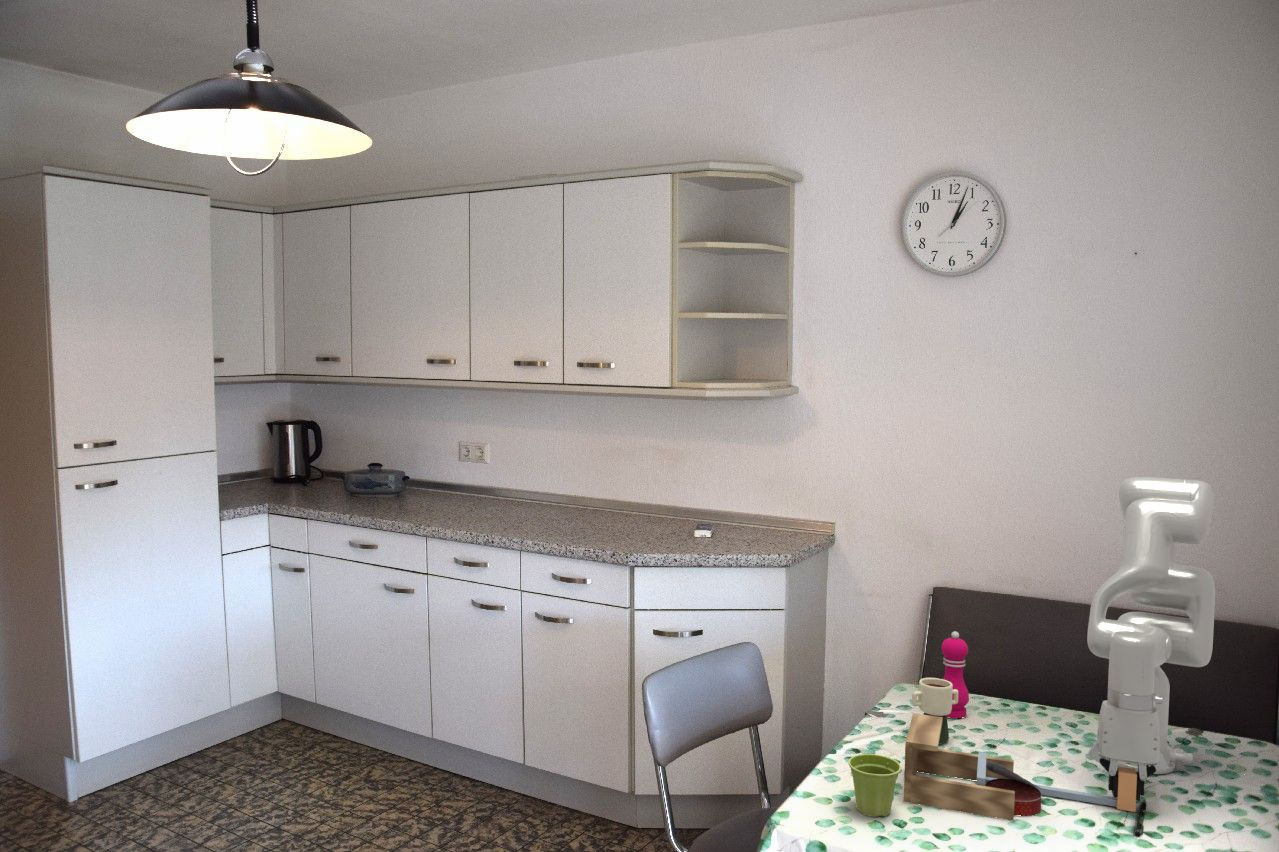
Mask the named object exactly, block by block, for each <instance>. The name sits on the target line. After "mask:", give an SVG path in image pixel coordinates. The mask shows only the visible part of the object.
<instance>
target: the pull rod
mask: <svg viewBox="0 0 1279 852" xmlns="http://www.w3.org/2000/svg"><path fill="white" fill-rule="evenodd" d="M987 754H988V753H987V752H982V751H978V753H977V755H978V767H977V782H976V785H981V786H985V785H986V783H987V782H988V781H990V780H993V779H998V778H992V777H986V756H988V755H987ZM1117 774H1118V778H1119V780H1118V797H1117V798H1115V797H1113V796H1111V795H1103V794H1098V793H1092V792H1091V793H1090V792H1084V791H1079V790H1072V789H1066V788H1059V787H1053V786H1047V785H1041V784H1034V783H1033V784H1034V785H1036V786H1038V787H1040V788H1038V789H1039V790H1040V791H1041V793H1042V796H1048V797H1055V798H1060V799H1061V798H1062V799H1068V800H1074V801H1080V802H1085V803H1092V804H1099V805H1103V806H1104V805H1105V806H1111V807H1116V809H1117V810H1121V811H1128V812H1132V813H1133V812H1134V813H1136V809H1137V808H1136V806H1137V800H1136V786H1137V773H1136V770H1135V769H1134V768H1127V767H1121V766H1118V765H1117ZM1036 788H1037V787H1036Z"/></svg>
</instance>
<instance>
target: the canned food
mask: <svg viewBox="0 0 1279 852" xmlns="http://www.w3.org/2000/svg"><path fill="white" fill-rule="evenodd" d="M986 768H987V769H988V770H990V771H992V772H994V773H996V774H999V775H1002V776H1004V777H1007V778H1010V779H1003V778H1001V779H993V780H990V781H988V782H987V783H986V785H985V786H987V787H993V788H999V789H1005V790H1011V791H1015V799H1014V815H1021V816H1020V817H1032V815H1034V816H1036V815H1035V814H1037V815H1038V814H1040V813H1041V811H1042V798H1043V795H1042V793H1041V791H1040V790H1039V789H1038V788H1040V787H1038V786H1036V785H1037V784H1035V785H1034V783H1032V782H1031V781H1029V780H1027V779H1026V778H1023V777H1022V776H1021V775H1019V774H1018V773H1015V772H1014V771H1013V772H1012V771H1011V770H1009V769H1008V768H1006V767H1004V766H1002V765H1000V764H997V763H992V762H988V763H987V764H986ZM1036 787H1037V788H1036Z"/></svg>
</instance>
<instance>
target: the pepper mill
mask: <svg viewBox="0 0 1279 852" xmlns="http://www.w3.org/2000/svg"><path fill="white" fill-rule="evenodd" d="M950 634H951V635H950V636H951V637H947V638H946V639H944V640H943V642H942V644H941V652H942V654H943V655H944V656H943V662H942V663H943V664H944V667H945V668H944V669H945V670H944V676H943V678H942V679H943V680H947V681H949V682H951V683H952V684H953V690H954V689H956V690H958V703H957V704H952V710H951V713H950V714H948V715H946V717H950V718H962V717H965V716H966V717H967V708H966V707H965V706H967V705H968V704H969V701H970V696H969V694H970V693H969V690H968V688H967V686H966V683H965V680H964V672H963V671H964V667H965V666H966V659H965V658H966V657H967V655H968V654H969V647H968V644H967V643H966V641H965V640H963V639H962V638H959V637H960V633H959V632H958V631H955V630H954V631H952V632H951V633H950ZM952 700H954V694H952ZM966 717H965V718H966ZM950 718H949V719H950Z"/></svg>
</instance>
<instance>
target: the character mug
mask: <svg viewBox="0 0 1279 852" xmlns="http://www.w3.org/2000/svg"><path fill="white" fill-rule="evenodd" d="M952 694H954V700H952ZM957 703H958V690H956V689H954V690H953V684H952V683H951V682H949V681H947V680H943V678H937V677H924V678H920V679H919V682H918V690H915V691H912V695H911V704H912V707H918V708H919V710H920V711H921V712H923V713H922V715H930V716H937V717H943V722H942V728H941V734H940V739H939V744H944V743H947V742H949V739H950V735H949V724H948V718H947V717H946V715H948V714H950V713H951V710H952V704H957Z"/></svg>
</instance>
